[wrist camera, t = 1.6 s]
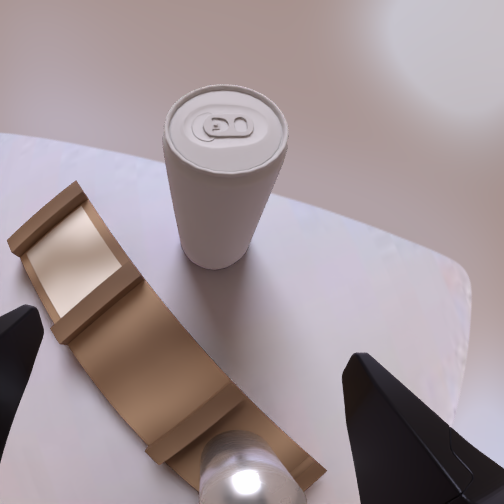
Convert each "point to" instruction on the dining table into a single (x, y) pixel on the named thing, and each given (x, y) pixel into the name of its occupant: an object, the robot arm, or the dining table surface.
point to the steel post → (245, 472)
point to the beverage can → (222, 168)
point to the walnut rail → (138, 343)
